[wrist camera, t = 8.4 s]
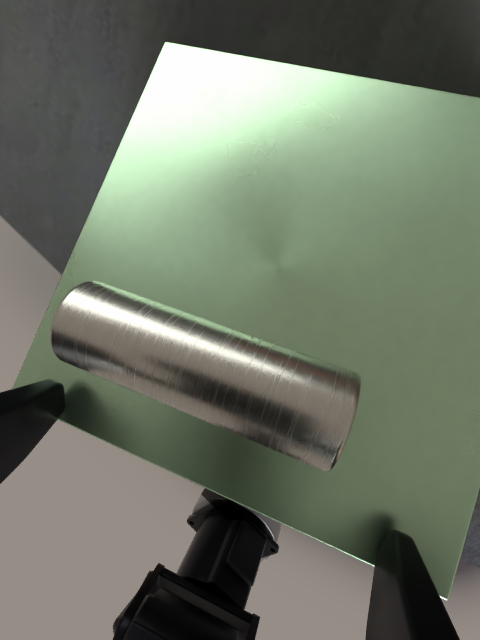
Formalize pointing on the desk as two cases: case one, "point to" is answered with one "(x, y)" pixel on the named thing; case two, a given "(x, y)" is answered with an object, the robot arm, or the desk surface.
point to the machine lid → (286, 299)
